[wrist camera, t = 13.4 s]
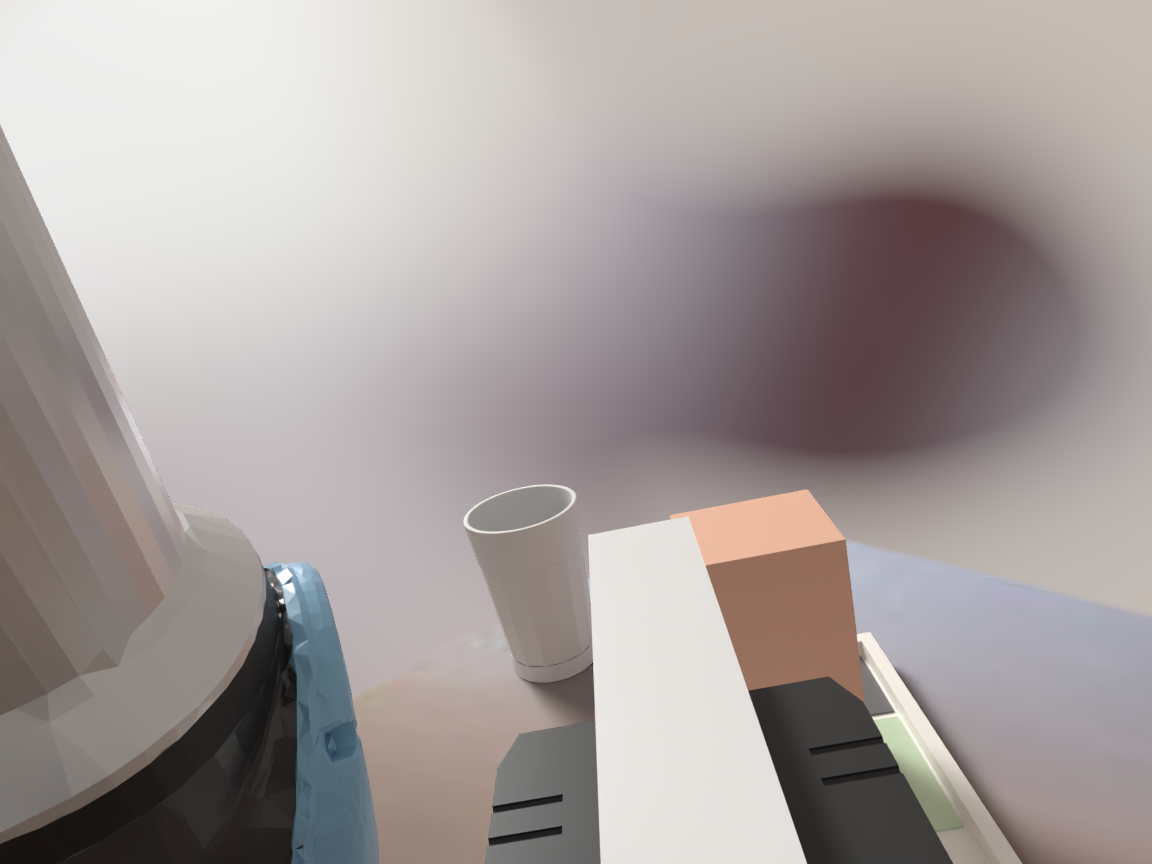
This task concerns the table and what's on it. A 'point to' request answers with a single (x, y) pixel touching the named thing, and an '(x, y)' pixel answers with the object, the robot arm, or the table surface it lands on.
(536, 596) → the cup
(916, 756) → the sorting tray
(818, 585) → the block
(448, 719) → the table surface
